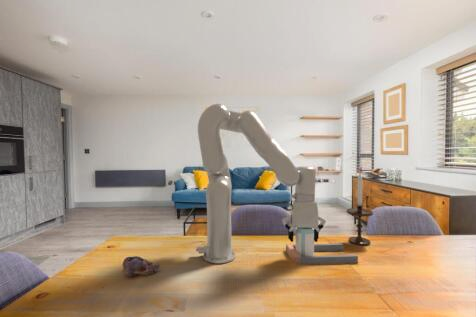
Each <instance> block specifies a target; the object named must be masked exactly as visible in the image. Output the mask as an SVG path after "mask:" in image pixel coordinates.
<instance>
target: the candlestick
mask: <svg viewBox="0 0 476 317" xmlns="http://www.w3.org/2000/svg"><path fill="white" fill-rule="evenodd" d="M362 169H363V166H361V167H360V169H359V170H358V172H359V174H358V176H357V204H355V207H354V208H353V207H351V208H347V209H346V213H347V214H348V215H352V216H356V217H357V224H356V226H355V227H356V228H357V230H356V232H357V236H350V237H348V242H349V243H350V244H353V245H356V246H360V247H361V246H362V247H365V246H366V247H368V246H370V245H371V240H370V239H368V238H365V237H362V233H363V230H362V229H363V228H364V225H363V224H362V218H363V217H373V215H374V211H373V210H370V209H366V208H363V207H365V205H364V204H363V176H362Z"/></svg>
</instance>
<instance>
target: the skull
mask: <svg viewBox="0 0 476 317" xmlns="http://www.w3.org/2000/svg"><path fill="white" fill-rule="evenodd" d="M158 270H160V263H159V262H158V263H157V262H150V261H148V260H147V259H145V258H142V257H140V256H127V257H125V258H124V259H123V261H122V272H123V273H124V274H125V275H127V276H134V275H136V274H139V275H140V274H142V275H144V276H146V275H149V274H154V271H155V273H157V271H158Z"/></svg>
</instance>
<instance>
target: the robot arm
mask: <svg viewBox="0 0 476 317" xmlns="http://www.w3.org/2000/svg"><path fill="white" fill-rule="evenodd" d="M220 130H224V131H229V132H235V133H241V134H243V136H244V137H245V138H246V140H247V141H248V142H249V144H250V145H251V147H252V148H253V150H254V151H255V152H256V153H257V154H258V156H259V157H260V158H262V160H263V161H265V162H266V163H267V165H268V166H269V167H270V169H271V170H272V171H273V173H274V174H275V178H276V180H277V181H278V182H279V183H280V184H282V185H283V186H285V187H294V186H295V189H294V194H291V198H292V199H293V201H292V203H291V204H292V205H291V210H290V211H291V212H290V215H288V216H286V217H284V218H282V219H281V221H282V223H283V226H284V227H285V228H286V230H287V231H288V234H287V237H288V240H289V241H290V242H291V243H293V242H294V229H295V228H296V229H297V228H312V229H313V231H314V243H318V240H319V235H320V234H319V233H320V232H321V230H322V229H323V228H324V226H325V224H326V220H325V219H324V218H322V217H320V216H319V209H318V202H317V201H315V199H316V198H315V197H316V176H317V174H316V172H317V171H316V168H315V167H314V166H313V167H312V166H304V165H303V166H302V165H301V166H296V165H294V163H293V161H292V160H291V159H290V157H289V156H288V154H286V153H285V151H284V150H283V149H282V147H281V146H280V145H279V144H278V142H277V141H276V139H275V138H274V137H273V136H272V134H271V133H270V132H269V131H268V129H267V127H266V126H265V124H263V122H262V120H261V119H260V118H259V117H258V115H257V114H256V113H255V112H253V111H252V110H244V111H243V112H239V111H232V110H229V109H228V107H227V106H225V105H224V104H222V103H214V104H211V105H210V106H208V107H207V108H206V109H204V111H203V112H202V113H201V114H200V117H199V119H198V124H197V135H198V136H197V137H198V141H199V149H200V155H201V160H202V167H203V169H204V171H205V172H206V174H207V179H208V184H207V186H206V189H205V190H206V191H205V199H206V200H205V201H206V220H207V221H206V223H207V224H206V226H207V227H206V228H207V230H206V234H207V236H206V237H207V238H206V239H207V241H206V242H207V243H206V245H204V246H201V245H200V246H195V250H196V252H198V254H203V259H204V260H205V261H206V262H208V263H211V264H227V263H230V262H232V261H233V260H234V259H235V258H236V252H235V251H234V250H232V189H233V186H232V179H231V175H230V170H229V169H230V168H229V163H228V159H227V156H226V155H225V154H224V151H223V150H224V149H223V145H222V138H221V132H220ZM288 222H290V224H289V225H288Z"/></svg>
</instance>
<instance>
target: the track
mask: <svg viewBox="0 0 476 317" xmlns="http://www.w3.org/2000/svg"><path fill="white" fill-rule="evenodd" d="M285 251H286V252H287V254H288V256H289V258H290V259H291V261H292V262H293V264H294V265H295V266H297V265H327V264H331V265H332V264H333V265H335V264H358V263H359V256H358V255H357V254H327V255H326V254H325V255H323V254H322V255H314V256H300V255H299V254H298V253H297V251H296V244H292V242H291V243H286V244H285ZM341 251H342V252H343V251H344V244H343V243H341V242H340V243H339V242H338V243H336V242H335V243H314V252H341Z"/></svg>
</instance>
